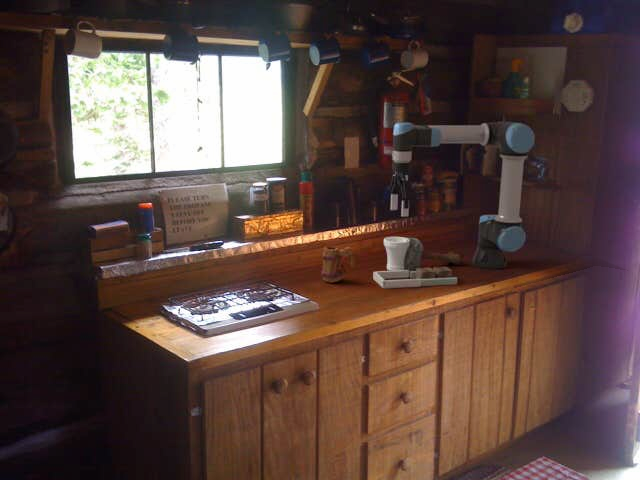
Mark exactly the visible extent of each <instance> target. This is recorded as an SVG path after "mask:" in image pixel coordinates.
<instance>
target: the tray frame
mask: <svg viewBox="0 0 640 480" xmlns="http://www.w3.org/2000/svg"><path fill="white" fill-rule="evenodd" d="M405 278H406V279H405ZM408 278H409V279H408ZM372 279H373V280H374V281H375V282H376V283H377V284H378V285H379V286H380V287H381V288H382V289H397V288H398V289H400V288H418V287H421V286H420V279H416V278H410V271H409V270H398V271H388V270H381V271H380V270H379V271H373V273H372ZM386 279H388V280H386Z"/></svg>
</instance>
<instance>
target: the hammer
mask: <svg viewBox="0 0 640 480" xmlns="http://www.w3.org/2000/svg"><path fill="white" fill-rule="evenodd" d="M406 238H407V239H409V240H410V245H409V247H408V249H407V252H406V255H405V260H404V267H405V269H404V270H409V272H410V271H416V268H421V260H440V261H444V262H447V263H449V264H453V265H455V266H459V265H460V263H461V255H460V254H458V253H455V252H453V251H450V252H448V253H445V254H444V253H438V252H437V253H436V252H434V253H433V252H428V251H426V250H424V245H423V244H422V242H421V241H420V239H418V238H414V237H411V238H410V237H406ZM407 241H408V240H407Z"/></svg>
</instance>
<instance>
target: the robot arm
mask: <svg viewBox="0 0 640 480" xmlns="http://www.w3.org/2000/svg"><path fill="white" fill-rule="evenodd" d="M392 133H393V134H392V136H393V137H392V139H393V140H392V141H393V142H392V153H391V156H392V162H391V163H392V164H391V170H392V176H391V181H390V186H389V192H390V194H391V195H390V211H396V210H397V211H398V202H399V201H398V200H399V199H398V198H399V189H400V190H401V191H400V192H401V195H402V198H401V213H400V214H401V215H400V216H401V217H409V214H410V213H409V212H410V210H409V209H410V202H411V200H412V199H413V198H412V189H411V181H410V178H411V176H410V175H407V173H409V172H411V169H412V168H411V166H412V162H411V161H412V151H413V149H412V147H421V148H422V147H430V148H432V147H438V146H440V145H441V144H480V145H481V146H483V147H484V146H487V147H488V146H490V147H494V148H499V156H500V158H501V159H502V165H501V176H500V177H501V179H500V189H499V191H500V192H499V205H498V214H484V215H481V216H480V217H479V222H478V237H477V238H478V239H477V249H476V250H475V253H474V255H473V258H472V265H473V266H475V267H478V268H481V269H488V270H499V269H501V270H502V269H505V268H507V265H508V260H507V257H506V252H508V253H509V252H510V253H512V252H513V253H514V252H516V251H518V250H519V249H520V248H522V247H523V246H524V245H525V242H526V239H527V236H526V235H527V234H526V232H525V230H524V229H523V219H522V217H520V209H521V200H522V199H521V197H522V189H523V188H522V187H523V186H522V185H523V175H524V162H525V159H527V158H528V156H529V152H530V151H531V149H532V148H533V146H534V145H535V133H534V131H533V129H531V127H530V126H528V125H526V124H523V123H522V122H512V121H497V122H483V123H481V124H479V125H473V124H471V125H469V124H468V125H467V124H466V125H464V124H463V125H461V124H460V125H457V124H456V125H452V124H451V125H450V124H449V125H437V124H436V125H432V124H430V125H426V124H425V125H419V124H418V125H417V124H413V123H411V122H396V123H395V124H394V126H393V132H392Z"/></svg>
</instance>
